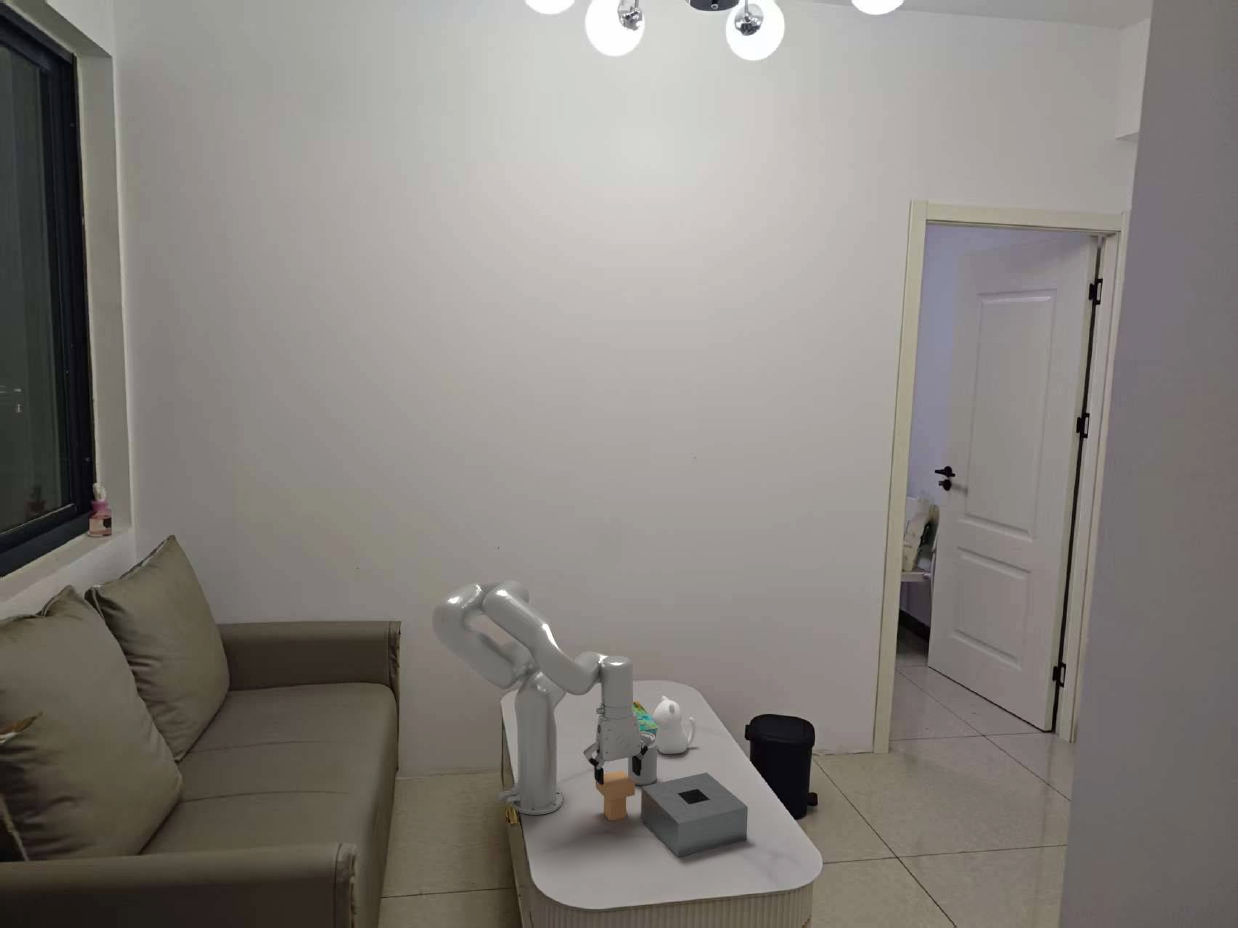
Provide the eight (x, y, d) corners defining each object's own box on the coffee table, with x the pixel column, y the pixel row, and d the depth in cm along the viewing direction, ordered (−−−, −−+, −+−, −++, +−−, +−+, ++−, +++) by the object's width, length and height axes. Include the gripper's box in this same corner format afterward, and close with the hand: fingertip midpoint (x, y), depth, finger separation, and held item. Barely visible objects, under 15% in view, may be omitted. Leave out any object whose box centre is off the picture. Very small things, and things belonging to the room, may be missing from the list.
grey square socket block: (677, 857, 196) (678, 823, 195) (640, 818, 212) (641, 786, 211) (746, 839, 204) (747, 806, 203) (705, 802, 220) (706, 772, 219)
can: (654, 788, 227) (655, 743, 225) (625, 784, 228) (626, 740, 227) (658, 774, 234) (659, 731, 232) (630, 771, 235) (631, 728, 234)
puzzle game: (621, 729, 251) (601, 702, 270) (621, 745, 252) (601, 717, 270) (660, 724, 254) (638, 698, 273) (660, 740, 255) (637, 713, 274)
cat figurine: (647, 746, 251) (647, 695, 249) (688, 739, 255) (688, 689, 253) (659, 760, 242) (659, 707, 240) (701, 753, 247) (701, 701, 244)
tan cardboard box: (607, 825, 209) (608, 789, 208) (595, 811, 215) (595, 775, 214) (634, 818, 212) (635, 783, 211) (621, 805, 218) (622, 770, 217)
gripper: (590, 721, 203) (591, 793, 205) (657, 708, 210) (657, 777, 212) (577, 710, 210) (578, 779, 212) (642, 697, 217) (643, 764, 219)
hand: (618, 778), depth 212 cm, fingers open, 9 cm apart
